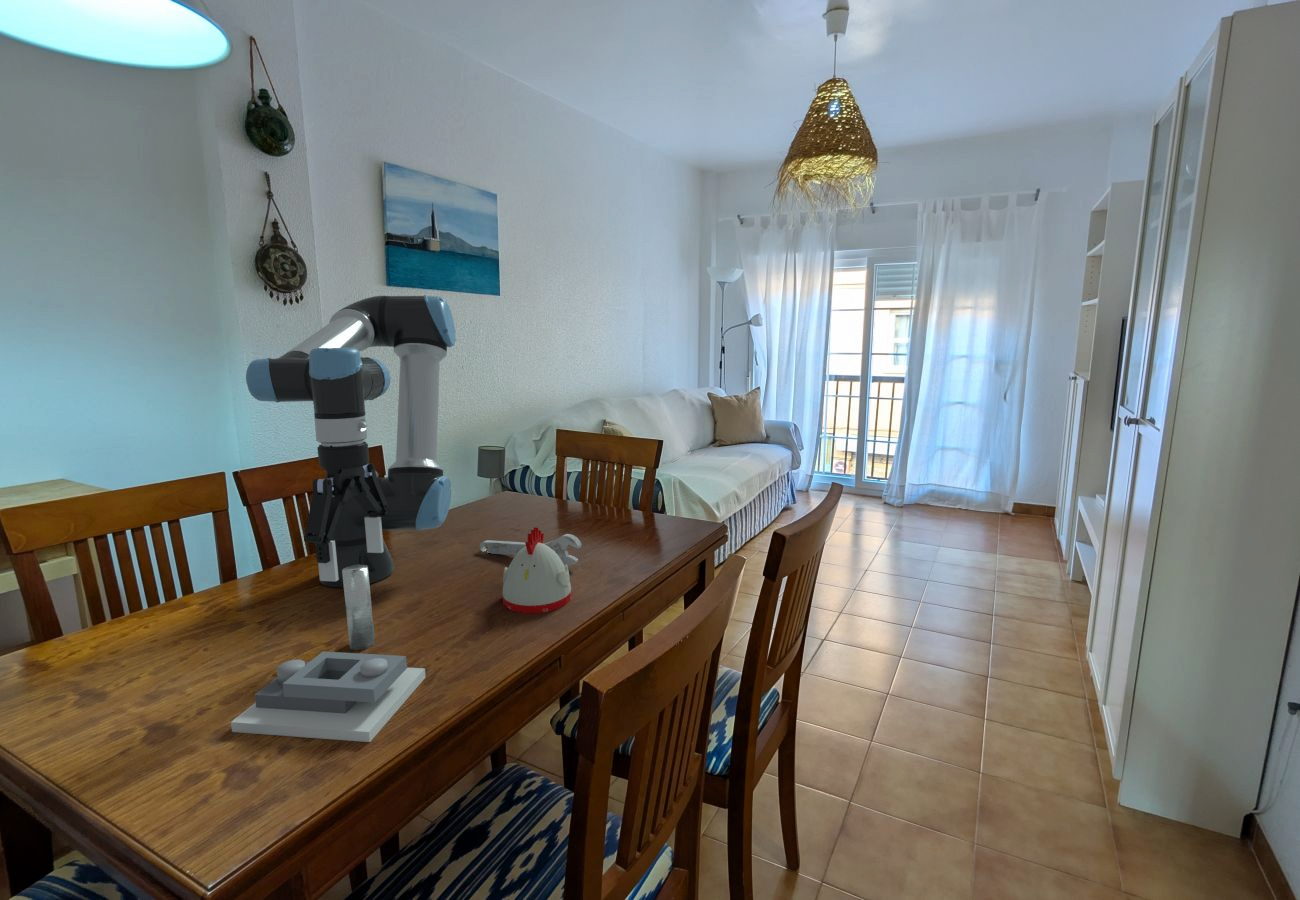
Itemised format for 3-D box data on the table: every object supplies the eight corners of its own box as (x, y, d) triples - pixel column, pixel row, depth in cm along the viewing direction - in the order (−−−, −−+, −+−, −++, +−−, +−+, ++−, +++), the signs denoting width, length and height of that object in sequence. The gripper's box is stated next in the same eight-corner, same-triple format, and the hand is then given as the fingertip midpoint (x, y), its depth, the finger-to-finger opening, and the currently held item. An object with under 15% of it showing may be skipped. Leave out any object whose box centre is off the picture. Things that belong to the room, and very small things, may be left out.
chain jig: (232, 731, 85) (226, 688, 84) (307, 670, 101) (303, 632, 100) (369, 742, 83) (365, 697, 82) (425, 677, 99) (422, 639, 98)
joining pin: (344, 649, 108) (337, 572, 105) (358, 638, 112) (350, 564, 109) (366, 650, 107) (359, 573, 105) (379, 639, 111) (372, 564, 109)
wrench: (486, 561, 157) (585, 568, 143) (481, 563, 156) (580, 570, 141) (482, 530, 156) (580, 534, 142) (476, 532, 155) (576, 536, 140)
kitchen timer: (491, 610, 123) (487, 537, 120) (517, 583, 136) (514, 517, 133) (559, 615, 120) (557, 541, 118) (579, 587, 134) (577, 520, 131)
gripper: (315, 456, 90) (329, 595, 94) (402, 431, 114) (410, 542, 118) (267, 455, 91) (283, 593, 95) (363, 431, 115) (373, 541, 119)
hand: (353, 565), depth 106 cm, fingers open, 13 cm apart
